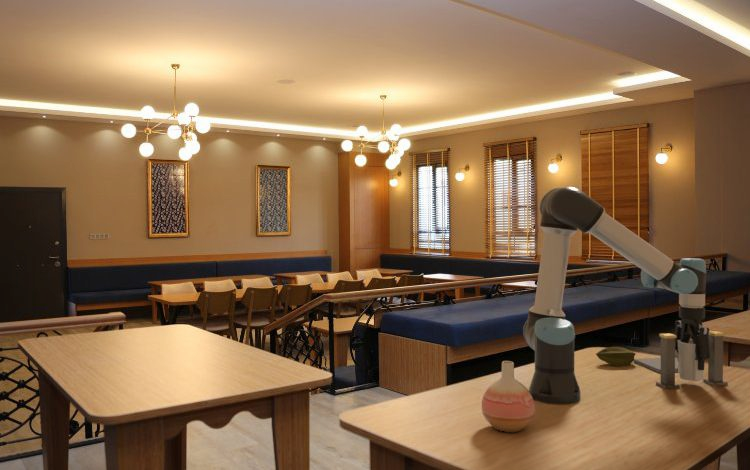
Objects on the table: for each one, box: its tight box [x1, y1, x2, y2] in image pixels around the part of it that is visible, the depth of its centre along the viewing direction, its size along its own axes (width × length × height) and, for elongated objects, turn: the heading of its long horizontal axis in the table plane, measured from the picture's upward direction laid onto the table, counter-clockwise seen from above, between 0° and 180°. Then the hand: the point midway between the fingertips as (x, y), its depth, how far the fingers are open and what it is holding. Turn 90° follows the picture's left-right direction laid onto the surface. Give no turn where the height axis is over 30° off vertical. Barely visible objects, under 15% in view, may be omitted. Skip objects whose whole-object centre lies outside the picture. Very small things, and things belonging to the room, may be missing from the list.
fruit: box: [595, 346, 637, 367], centre depth 232 cm, size 11×12×7 cm
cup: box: [677, 338, 701, 382], centre depth 203 cm, size 8×8×12 cm
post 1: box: [655, 333, 681, 390], centre depth 202 cm, size 5×5×17 cm
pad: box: [633, 357, 678, 374], centre depth 228 cm, size 16×16×1 cm
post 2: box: [702, 330, 729, 387], centre depth 204 cm, size 5×5×17 cm
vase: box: [481, 360, 536, 433], centre depth 164 cm, size 14×14×18 cm
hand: (690, 376), depth 203 cm, fingers closed on cup, 7 cm apart
